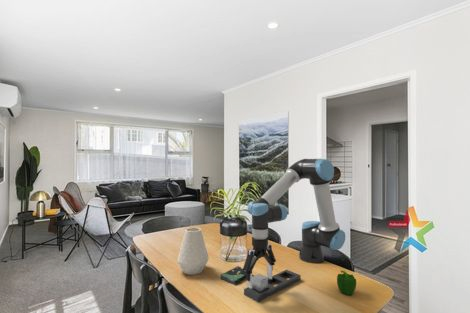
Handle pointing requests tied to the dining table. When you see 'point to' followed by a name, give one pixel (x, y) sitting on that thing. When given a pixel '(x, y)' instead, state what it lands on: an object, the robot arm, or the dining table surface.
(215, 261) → the dining table surface
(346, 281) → the bell pepper
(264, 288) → the block
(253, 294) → the rail
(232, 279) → the disk drive
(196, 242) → the vase
